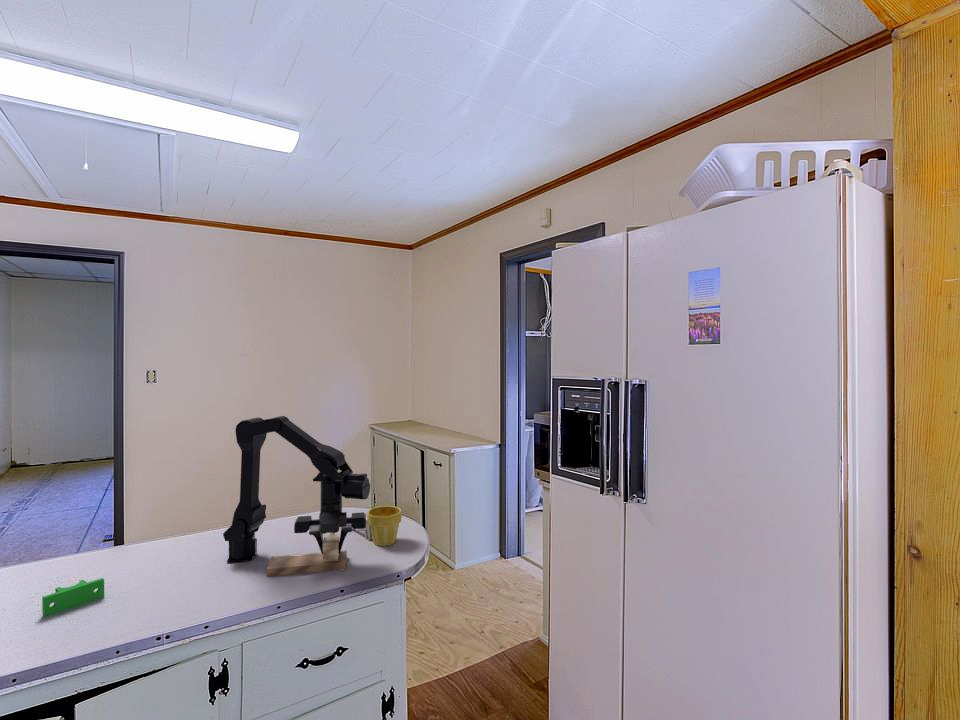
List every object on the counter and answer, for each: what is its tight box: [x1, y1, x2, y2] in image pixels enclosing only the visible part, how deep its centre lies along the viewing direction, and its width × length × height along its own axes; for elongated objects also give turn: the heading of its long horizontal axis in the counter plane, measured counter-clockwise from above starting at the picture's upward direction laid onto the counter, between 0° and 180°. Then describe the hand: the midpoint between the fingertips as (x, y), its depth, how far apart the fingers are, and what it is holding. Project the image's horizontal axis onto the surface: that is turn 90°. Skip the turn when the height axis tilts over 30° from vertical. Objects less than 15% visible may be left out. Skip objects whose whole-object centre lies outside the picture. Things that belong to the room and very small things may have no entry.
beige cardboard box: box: [323, 533, 340, 562], centre depth 139 cm, size 4×9×5 cm, turn 13°
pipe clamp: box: [41, 577, 105, 618], centre depth 115 cm, size 11×4×5 cm, turn 145°
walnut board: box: [266, 549, 348, 578], centre depth 136 cm, size 20×8×2 cm, turn 103°
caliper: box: [357, 519, 373, 541], centre depth 162 cm, size 20×1×6 cm, turn 43°
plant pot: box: [366, 505, 403, 547], centre depth 153 cm, size 10×10×10 cm
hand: (331, 553), depth 137 cm, fingers closed on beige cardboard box, 4 cm apart
